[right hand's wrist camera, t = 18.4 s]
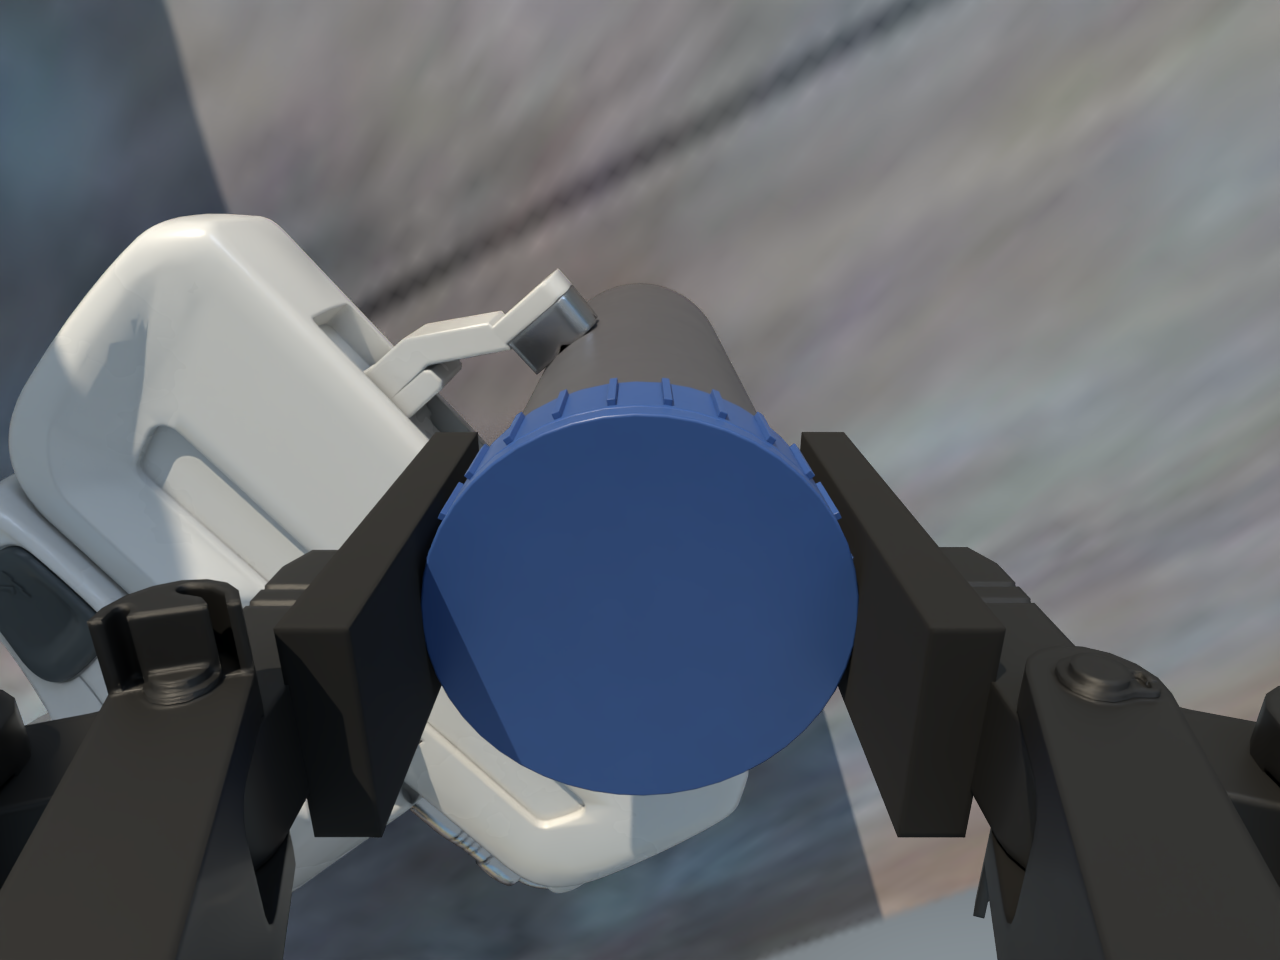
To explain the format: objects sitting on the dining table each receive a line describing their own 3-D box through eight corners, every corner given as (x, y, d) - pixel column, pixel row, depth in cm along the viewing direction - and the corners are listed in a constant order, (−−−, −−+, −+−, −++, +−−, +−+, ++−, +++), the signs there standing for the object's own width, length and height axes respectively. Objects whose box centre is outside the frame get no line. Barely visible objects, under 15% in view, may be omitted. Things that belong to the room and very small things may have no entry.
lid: (769, 755, 13) (786, 833, 12) (418, 686, 13) (386, 757, 11) (893, 430, 11) (934, 471, 9) (478, 330, 10) (450, 356, 9)
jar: (566, 272, 24) (463, 393, 10) (734, 295, 24) (864, 445, 10) (550, 434, 26) (445, 727, 12) (707, 454, 26) (784, 763, 12)
